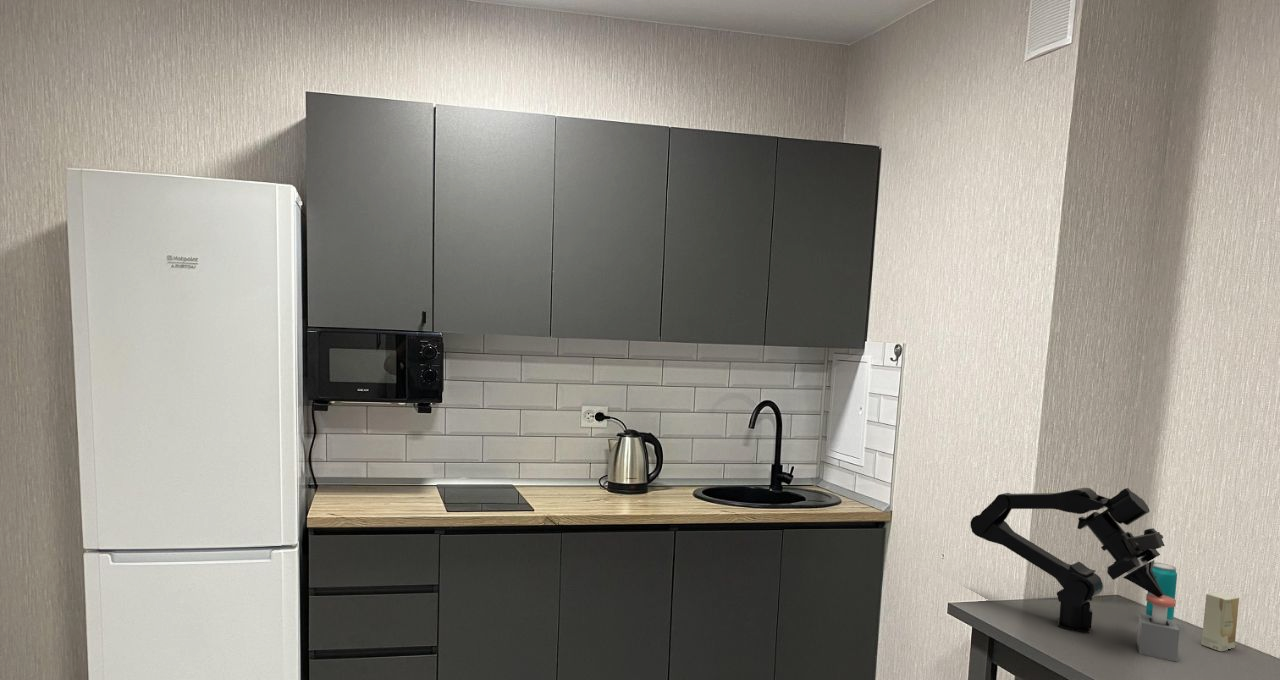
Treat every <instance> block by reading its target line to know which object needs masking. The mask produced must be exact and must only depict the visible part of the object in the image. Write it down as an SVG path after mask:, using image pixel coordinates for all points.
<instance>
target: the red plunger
mask: <svg viewBox="0 0 1280 680" xmlns="http://www.w3.org/2000/svg"><path fill="white" fill-rule="evenodd" d="M1145 600H1146V603H1147V602H1149V603H1152V604H1153V610H1152V621H1151V622H1152V623H1157V624H1162V625H1166V621H1167V610H1168V607H1174V608H1175V607H1176V604H1177V601H1176V598H1175V599H1173V598H1171V597H1169V596H1165V595H1163V596H1161V597H1157V596H1155V595H1153V594H1152V593H1148V592H1147V593H1146V595H1145Z"/></svg>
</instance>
